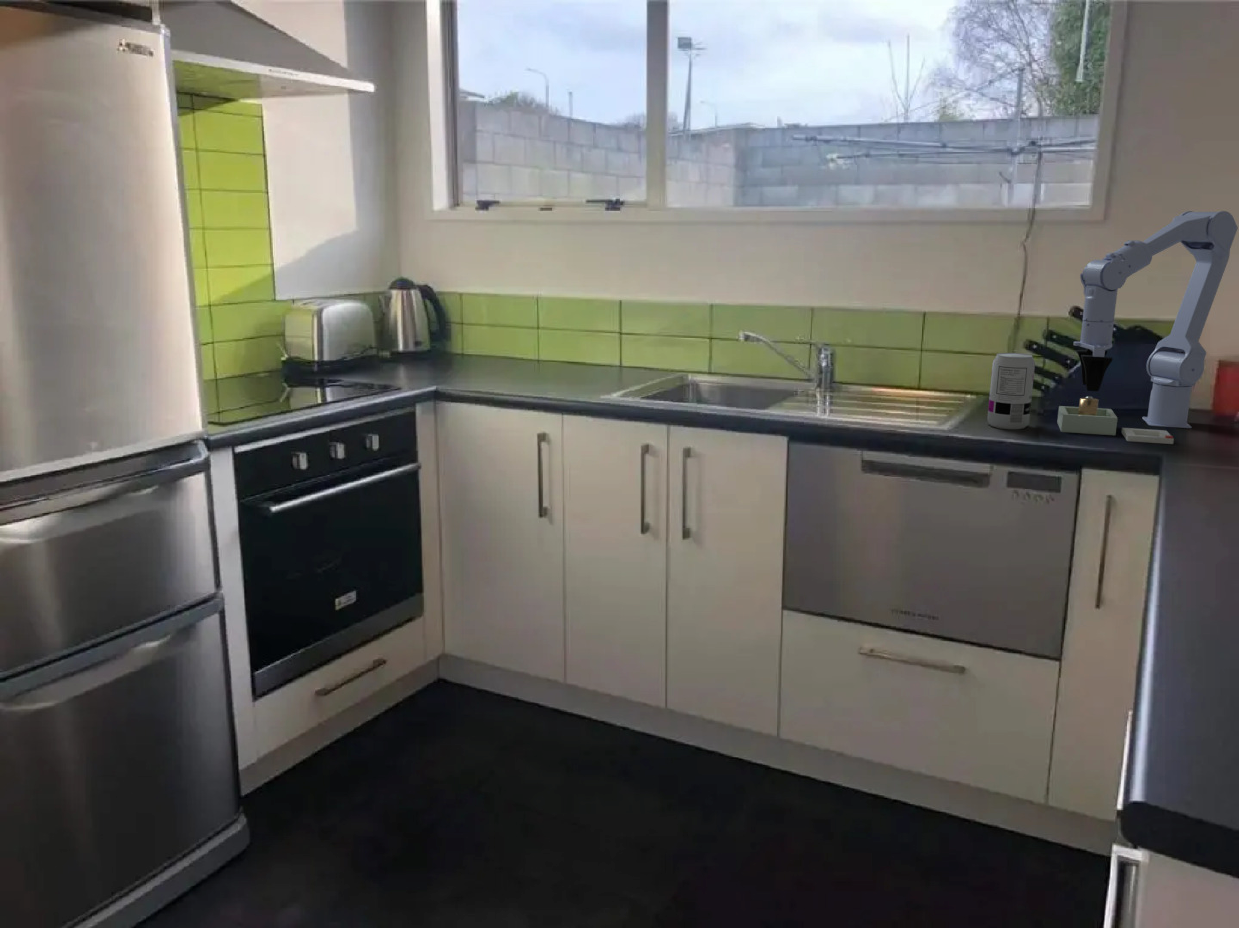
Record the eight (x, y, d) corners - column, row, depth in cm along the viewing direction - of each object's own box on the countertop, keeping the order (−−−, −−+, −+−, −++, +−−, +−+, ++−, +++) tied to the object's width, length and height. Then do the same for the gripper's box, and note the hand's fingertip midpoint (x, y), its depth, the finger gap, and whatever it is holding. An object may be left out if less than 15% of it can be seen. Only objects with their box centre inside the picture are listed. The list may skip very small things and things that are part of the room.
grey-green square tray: (1057, 424, 214) (1059, 406, 213) (1108, 427, 211) (1111, 409, 210) (1060, 433, 205) (1063, 414, 204) (1115, 437, 201) (1117, 417, 200)
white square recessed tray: (1121, 435, 204) (1122, 426, 203) (1165, 437, 201) (1166, 429, 201) (1126, 443, 196) (1128, 434, 196) (1172, 446, 194) (1174, 437, 193)
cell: (1076, 425, 210) (1079, 394, 208) (1094, 427, 208) (1098, 396, 207) (1076, 428, 206) (1080, 397, 205) (1095, 430, 205) (1099, 398, 204)
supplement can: (978, 423, 214) (984, 353, 211) (1008, 420, 217) (1015, 351, 214) (1006, 431, 207) (1013, 358, 203) (1037, 428, 210) (1044, 356, 207)
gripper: (1073, 316, 210) (1066, 381, 213) (1080, 323, 197) (1072, 392, 200) (1110, 317, 208) (1102, 383, 211) (1119, 325, 195) (1111, 394, 198)
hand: (1090, 387), depth 205 cm, fingers open, 7 cm apart
